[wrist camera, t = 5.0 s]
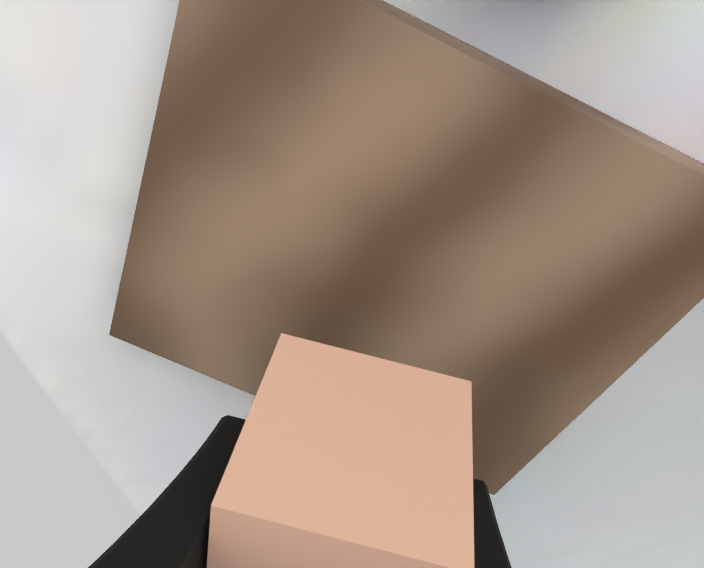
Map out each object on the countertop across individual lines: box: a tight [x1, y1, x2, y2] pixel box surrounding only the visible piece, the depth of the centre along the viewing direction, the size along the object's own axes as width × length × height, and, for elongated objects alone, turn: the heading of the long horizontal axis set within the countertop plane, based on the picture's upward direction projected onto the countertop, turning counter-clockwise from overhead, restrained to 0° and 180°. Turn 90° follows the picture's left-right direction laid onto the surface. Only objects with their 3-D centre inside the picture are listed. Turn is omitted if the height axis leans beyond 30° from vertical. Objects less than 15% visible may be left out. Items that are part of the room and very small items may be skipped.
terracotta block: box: [207, 333, 475, 568], centre depth 11 cm, size 4×4×4 cm
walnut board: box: [109, 0, 704, 495], centre depth 18 cm, size 16×14×1 cm
